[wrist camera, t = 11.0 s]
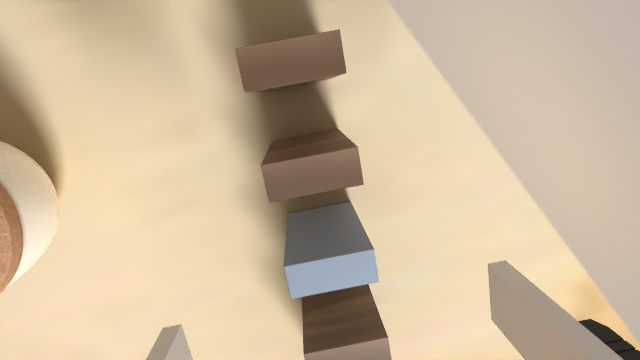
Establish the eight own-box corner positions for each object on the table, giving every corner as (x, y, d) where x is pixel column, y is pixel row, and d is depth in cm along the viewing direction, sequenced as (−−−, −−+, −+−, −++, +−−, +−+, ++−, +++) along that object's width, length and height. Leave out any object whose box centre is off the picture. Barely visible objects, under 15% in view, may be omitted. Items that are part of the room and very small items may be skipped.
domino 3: (354, 225, 29) (378, 281, 21) (292, 236, 29) (291, 299, 21) (350, 201, 29) (374, 249, 20) (287, 213, 29) (283, 266, 20)
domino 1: (255, 62, 26) (234, 48, 17) (325, 49, 26) (339, 29, 17) (261, 91, 27) (244, 91, 18) (329, 78, 27) (346, 72, 18)
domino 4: (301, 278, 30) (303, 354, 21) (361, 266, 30) (388, 337, 22) (306, 299, 31) (309, 382, 22) (365, 288, 31) (392, 366, 22)
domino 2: (272, 141, 27) (260, 165, 19) (338, 129, 28) (357, 147, 19) (277, 167, 28) (269, 202, 19) (342, 155, 28) (363, 184, 19)
